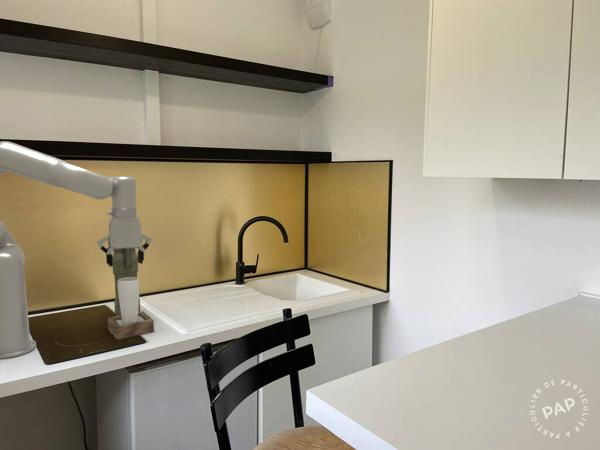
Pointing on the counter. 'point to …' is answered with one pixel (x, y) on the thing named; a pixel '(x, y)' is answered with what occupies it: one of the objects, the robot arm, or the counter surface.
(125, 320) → the drinking glass
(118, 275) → the stone statue
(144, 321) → the wooden tray
